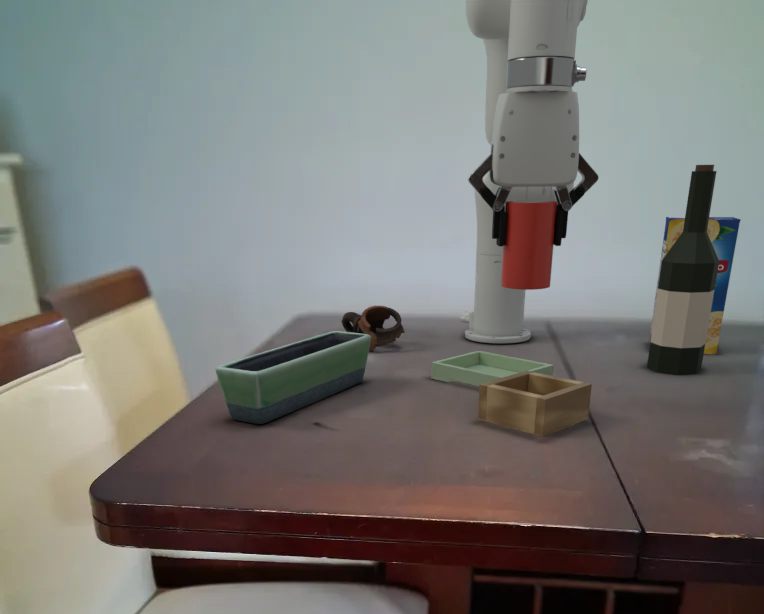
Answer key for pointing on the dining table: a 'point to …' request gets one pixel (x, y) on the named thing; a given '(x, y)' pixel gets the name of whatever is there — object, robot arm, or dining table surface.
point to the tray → (483, 367)
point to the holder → (534, 402)
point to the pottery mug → (374, 325)
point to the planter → (293, 375)
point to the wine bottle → (686, 286)
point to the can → (528, 244)
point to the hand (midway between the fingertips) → (528, 243)
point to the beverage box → (724, 244)
